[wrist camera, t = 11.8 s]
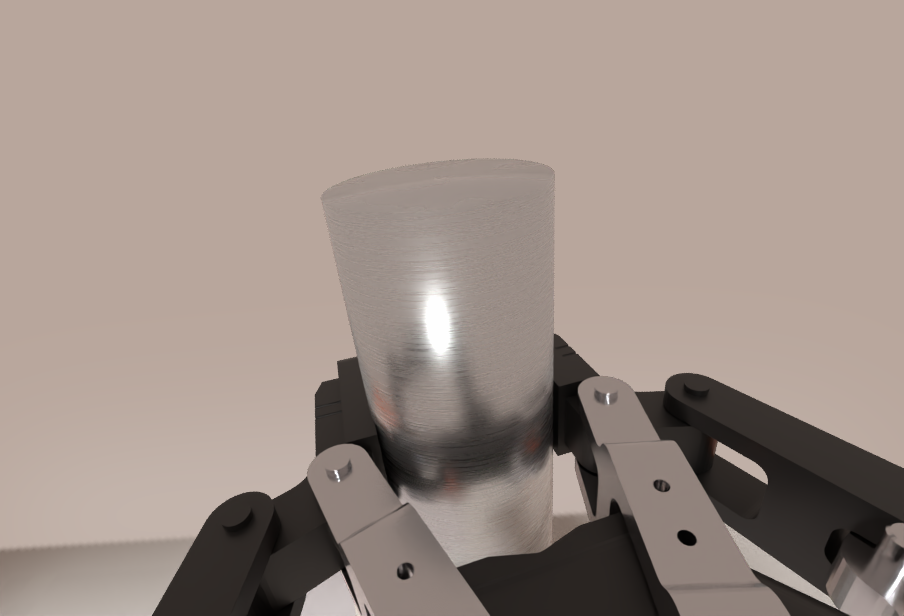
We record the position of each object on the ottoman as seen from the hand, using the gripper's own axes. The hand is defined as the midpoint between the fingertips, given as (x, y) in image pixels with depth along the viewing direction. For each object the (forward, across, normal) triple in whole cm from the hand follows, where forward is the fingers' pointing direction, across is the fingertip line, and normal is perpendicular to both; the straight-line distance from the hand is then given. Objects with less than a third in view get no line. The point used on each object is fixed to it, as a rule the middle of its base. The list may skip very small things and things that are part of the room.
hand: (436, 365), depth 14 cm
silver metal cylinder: (-3, 0, +8) cm, 8 cm away
